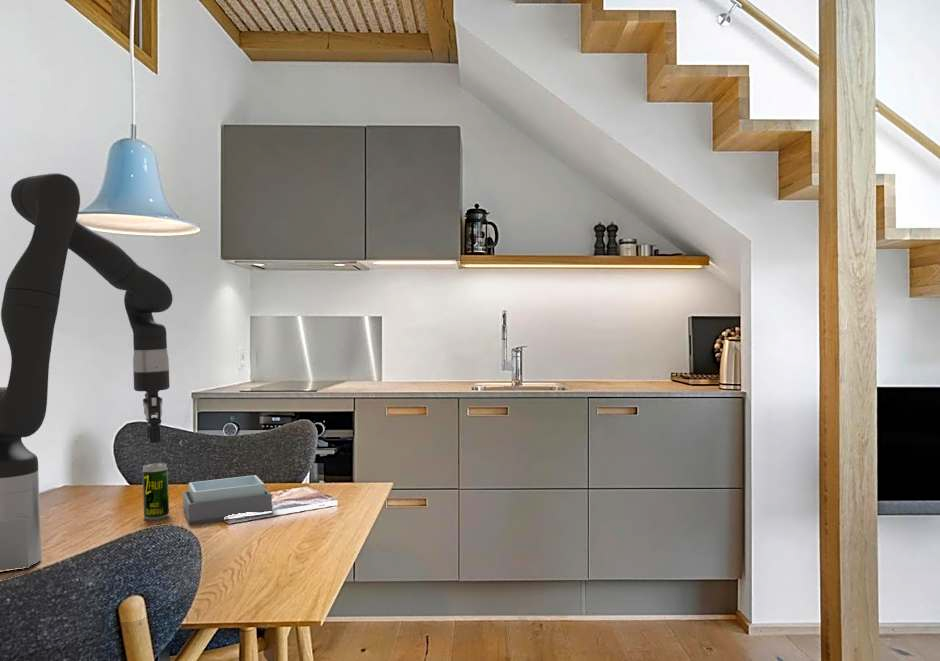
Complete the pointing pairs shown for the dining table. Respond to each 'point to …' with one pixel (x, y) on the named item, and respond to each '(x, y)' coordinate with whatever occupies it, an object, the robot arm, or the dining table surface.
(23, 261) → the robot arm
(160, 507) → the beer can
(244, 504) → the bottom crate
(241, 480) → the top crate
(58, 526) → the dining table surface
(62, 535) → the dining table surface
